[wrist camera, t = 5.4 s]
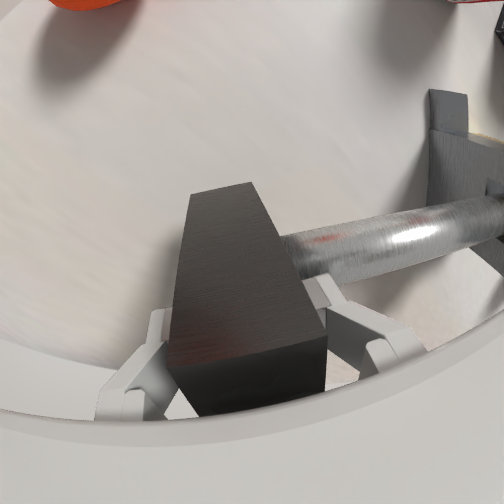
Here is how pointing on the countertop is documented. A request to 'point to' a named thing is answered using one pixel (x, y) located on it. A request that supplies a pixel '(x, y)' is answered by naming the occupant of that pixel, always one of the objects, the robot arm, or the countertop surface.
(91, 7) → the clementine
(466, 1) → the soda can
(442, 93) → the housing
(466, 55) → the countertop surface
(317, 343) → the shaft
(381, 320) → the robot arm
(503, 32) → the small box
